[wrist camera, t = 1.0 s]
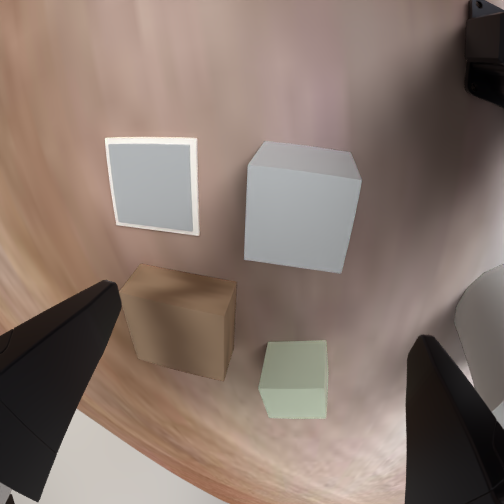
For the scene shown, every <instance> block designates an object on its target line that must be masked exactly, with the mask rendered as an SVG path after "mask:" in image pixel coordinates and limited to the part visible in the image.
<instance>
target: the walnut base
mask: <svg viewBox="0 0 504 504" xmlns="http://www.w3.org/2000/svg"><path fill="white" fill-rule="evenodd" d="M236 286H237V282H235V281H229V280H224V279H218V278H213V277H207V276H202V275H197V274H191V273H186V272H181V271H176V270H170V269H165V268H160V267H155V266H150V265H145V264H140V265H139V266H138V268H137V269H136V270H135V272H134V273H133V274H132V276H131V277H130V278H129V279H128V281H127V282H126V283H125V285H124V286H123V287H122V289H121V290H120V291H119V294H120V298H121V302H122V307H123V310H124V314H125V318H126V321H127V325H128V328H129V332H130V335H131V338H132V342H133V345H134V348H135V351H136V355H137V358H138V359H140V360H143V361H146V362H150V363H153V364H157V365H160V366H164V367H167V368H171V369H175V370H178V371H182V372H186V373H190V374H194V375H198V376H202V377H207V378H211V379H215V380H220V381H224V379H225V376H226V372H227V369H228V366H229V362H230V359H231V356H232V353H233V349H234V328H235V306H236Z"/></svg>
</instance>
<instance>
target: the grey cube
mask: <svg viewBox="0 0 504 504" xmlns="http://www.w3.org/2000/svg"><path fill="white" fill-rule="evenodd" d="M361 183H362V179H361V176H360V174H359V171H358V169H357V166H356V164H355V161H354V159H353V157H352V154H351V152H346V151H340V150H334V149H327V148H320V147H313V146H306V145H298V144H289V143H280V142H271V141H264V143H263V144H262V146H261V147H260V148H259V150H258V151H257V153H256V154H255V155H254V157H253V158H252V160H251V161H250V163H249V164H248V174H247V197H246V220H245V245H244V260H250V261H257V262H264V263H271V264H277V265H284V266H291V267H298V268H305V269H312V270H319V271H326V272H333V273H340V274H341V272H342V269H343V265H344V261H345V257H346V252H347V248H348V244H349V240H350V236H351V231H352V227H353V222H354V218H355V213H356V208H357V203H358V199H359V194H360V189H361Z"/></svg>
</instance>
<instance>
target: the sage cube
mask: <svg viewBox="0 0 504 504" xmlns="http://www.w3.org/2000/svg"><path fill="white" fill-rule="evenodd" d="M258 389H259V392H260V394H261V397H262V400H263V403H264V405H265V408H266V411H267V413H268V416H269V418H287V419H322V418H326V413H327V395H328V359H327V345H326V340H316V341H286V342H268V344H267V349H266V354H265V359H264V364H263V368H262V373H261V378H260V382H259V387H258Z"/></svg>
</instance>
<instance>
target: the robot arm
mask: <svg viewBox="0 0 504 504" xmlns="http://www.w3.org/2000/svg"><path fill="white" fill-rule="evenodd" d="M476 2H477V3H478V4H479V5H480V8H478V7H477V6H476ZM465 58H466V60H467V66H466V75H465V84H464V85H465V90H466V91H467V92H468V93H469V94H471V95H473V96H476V97H478V98H481V99H483V100H486V101H488V102H491V103H493V104H495V105H498V106H500V107H502V108H504V10H503V9H501V8H499V7H497V6H495V5H493V4H491V3H489V2H487V1H485V0H470V2H469V20H467V26H466V46H465ZM472 83H473V84H474V86H475V89H474V90H472V89H471V84H472ZM121 307H122V302H121V298H120V294H119V290H118V286H117V284H116V283H115V282H112V281H108V280H103V281H101V282H99V283H97V284H95V285H93V286H91V287H89V288H87V289H85V290H83V291H81V292H80V293H78V294H76V295H74V296H72V297H70V298H68V299H66V300H64V301H63V302H61V303H59V304H57V305H55V306H53V307H51V308H50V309H48V310H46V311H44V312H42V313H40V314H39V315H37V316H35V317H33V318H31V319H29V320H28V321H26V322H24V323H22V324H20V325H19V326H17V327H15V328H14V330H13V329H11V330H10V331H8V332H6V333H5V334H3V335H1V336H0V504H15V503H14V500H13V497H12V494H10V493H11V490H12V489H13V490H14V491H16V492H18V493H20V494H22V495H24V496H26V497H28V498H30V499H32V500H34V501H36V502H39V500H40V497H41V494H42V492H43V489H44V486H45V484H46V481H47V478H48V476H49V473H50V470H51V468H52V465H53V463H54V460H55V458H56V455H57V452H58V450H59V448H60V445H61V443H62V440H63V438H64V435H65V433H66V431H67V429H68V426H69V424H70V422H71V419H72V417H73V415H74V413H75V411H76V408H77V406H78V404H79V402H80V400H81V398H82V395H83V393H84V391H85V389H86V387H87V385H88V383H89V381H90V379H91V377H92V375H93V372H94V370H95V368H96V366H97V364H98V362H99V360H100V358H101V356H102V354H103V352H104V350H105V348H106V346H107V343H108V341H109V338H110V336H111V333H112V330H113V328H114V325H115V323H116V320H117V318H118V316H119V313H120V311H121ZM496 420H497V419H496V417H495V416H494V415H493V413H492V412H491V410H490V409H489V407H488V406H487V405H486V403H485V402H484V401H483V399H482V398H481V396H480V395H479V394H478V392H477V391H476V390H475V388H474V387H473V386H472V384H471V383H470V382H469V380H468V379H467V378H466V376H465V375H464V374H463V372H462V371H461V370H460V369H459V367H458V366H457V365H456V363H455V362H454V361H453V360H452V358H451V357H450V356H449V355H448V353H447V352H446V351H445V350H444V348H443V347H442V346H441V345H440V343H439V342H438V341H437V340H436V339H435V337H434V336H432V335H420V336H419V337H418V338H417V340H416V342H415V343H414V345H413V347H412V348H411V350H410V352H409V354H408V358H407V386H406V435H407V462H406V490H405V504H504V429H503V427H502V426H501V424H500V423H499V422H498V421H496Z"/></svg>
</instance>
